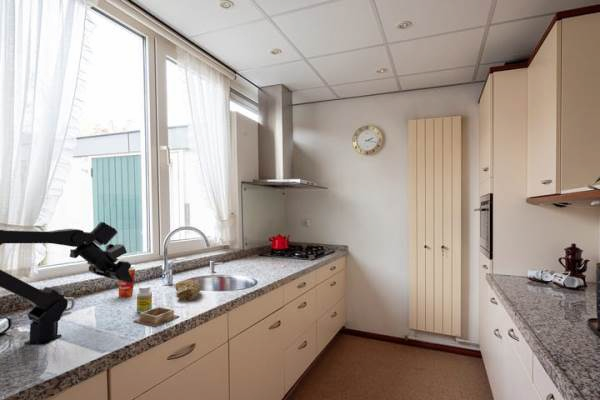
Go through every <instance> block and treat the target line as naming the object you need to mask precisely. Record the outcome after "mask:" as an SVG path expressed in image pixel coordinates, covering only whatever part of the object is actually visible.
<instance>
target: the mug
mask: <svg viewBox="0 0 600 400" xmlns="http://www.w3.org/2000/svg"><path fill="white" fill-rule="evenodd" d="M64 298H66V299H67V301H71V304H70V307H67V308H66V309H65V311H64V312H63V313H62V316H61V317H64V316H65V315H66V312H69V311H70V310H73V309H74V307H75V297H73V296H72V297H70V296H69V297H66V296H65V297H64Z"/></svg>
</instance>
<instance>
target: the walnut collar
mask: <svg viewBox="0 0 600 400" xmlns="http://www.w3.org/2000/svg"><path fill="white" fill-rule="evenodd" d="M178 318H180V315H176V314H175V309H171V308H166V307H160V306H157V307H155V308H152V309H151V310H148V311H145V312H142V313H139V318H137V319H135V320H133V323H137V324H141V325H144V326H149V327H153V328H157V327H159V326H161V325H164V324H165V323H168V322H171V321H174V320H175V319H178Z"/></svg>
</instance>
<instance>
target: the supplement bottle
mask: <svg viewBox="0 0 600 400" xmlns="http://www.w3.org/2000/svg"><path fill="white" fill-rule="evenodd" d="M138 291H139V292H138V293H137V294H136V312H137V313H139V314H140V313H142V312H145V311H148V310H151V309H153V307H152V305H153V304H152V303H153V301H152V299H153V293H152V291H151V285H142V286H139V288H138Z"/></svg>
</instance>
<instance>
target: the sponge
mask: <svg viewBox="0 0 600 400" xmlns="http://www.w3.org/2000/svg"><path fill="white" fill-rule="evenodd" d="M201 289H202V286H201V284H200V283H199V282H197V281H195V280H192V279H185V280H181V281H178V282H176V283H175V290H176V297H177V299H179V300H181V301H187V300H188V301H192V300H195V299H196V298H198V296H199V294H200V292H201Z"/></svg>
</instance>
